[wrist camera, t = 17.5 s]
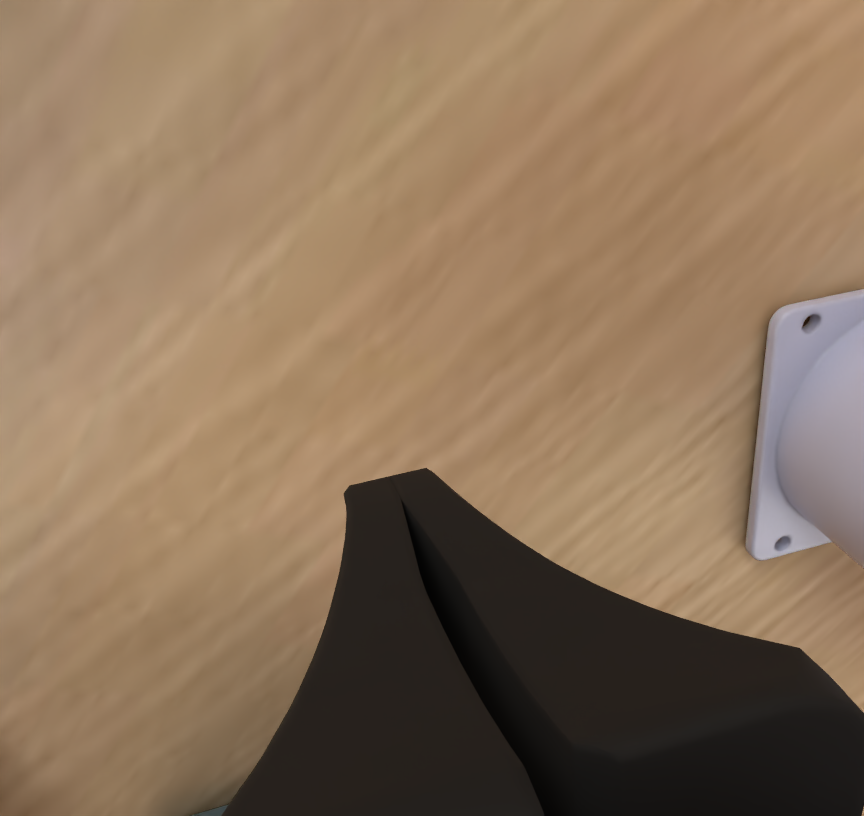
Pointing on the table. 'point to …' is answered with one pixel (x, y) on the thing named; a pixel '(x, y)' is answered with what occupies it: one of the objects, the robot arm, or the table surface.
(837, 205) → the table surface
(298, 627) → the table surface
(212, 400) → the table surface
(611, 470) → the table surface
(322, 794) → the robot arm
